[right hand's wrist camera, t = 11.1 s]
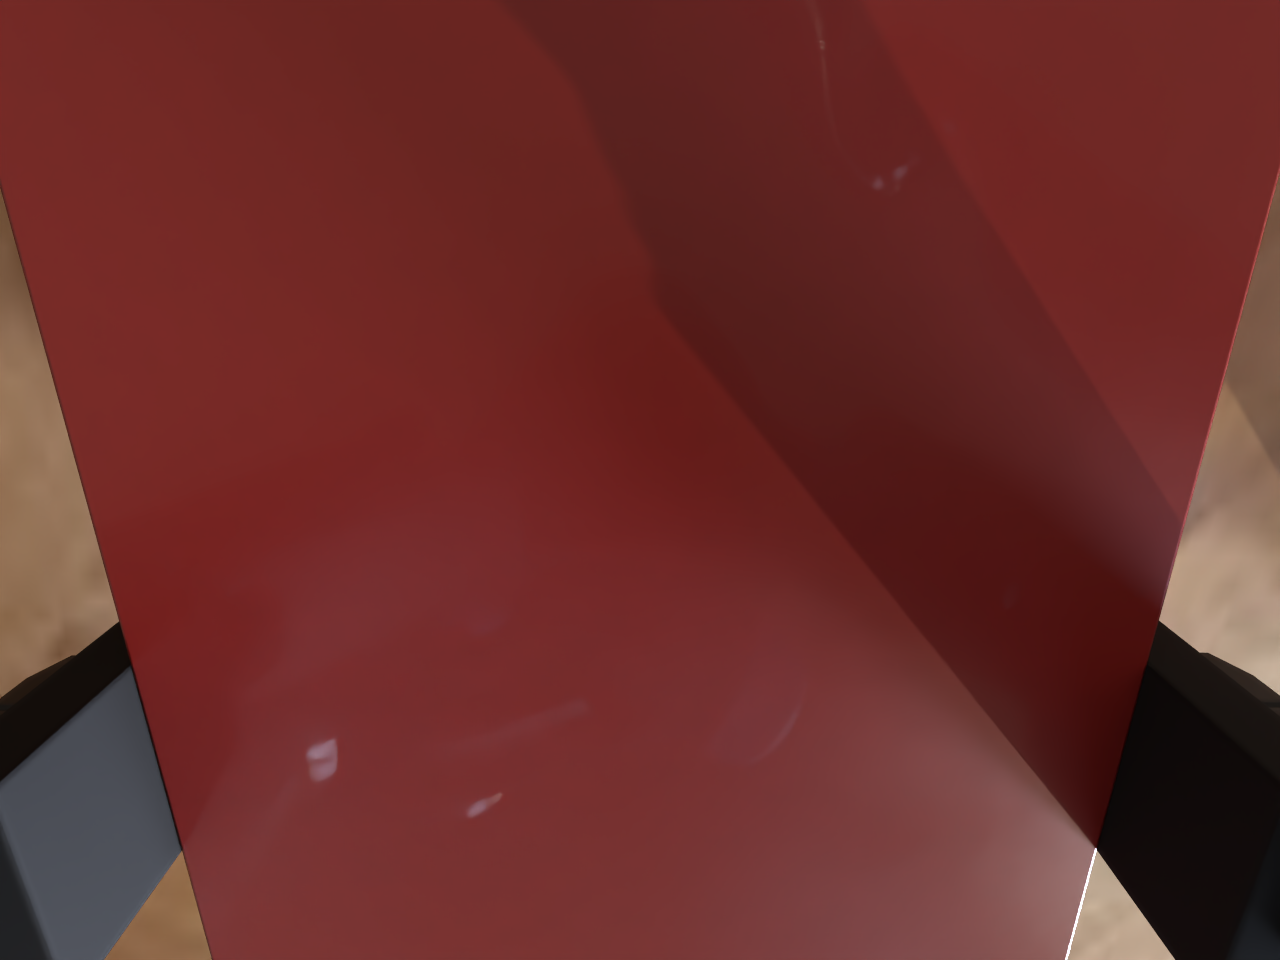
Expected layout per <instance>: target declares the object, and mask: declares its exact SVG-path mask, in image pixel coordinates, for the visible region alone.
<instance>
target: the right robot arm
mask: <svg viewBox="0 0 1280 960" xmlns="http://www.w3.org/2000/svg"><path fill="white" fill-rule="evenodd" d="M181 851H182V848H181V844H180V841H179V837H178V833H177V830H176V826H175V822H174V819H173V815H172V812H171V808H170V804H169V801H168V797H167V793H166V790H165V786H164V782H163V779H162V775H161V771H160V768H159V764H158V760H157V757H156V753H155V750H154V746H153V742H152V739H151V735H150V731H149V728H148V724H147V720H146V717H145V713H144V709H143V706H142V702H141V698H140V695H139V691H138V688H137V684H136V680H135V677H134V673H133V669H132V666H131V662H130V658H129V655H128V651H127V647H126V644H125V640H124V636H123V633H122V629H121V626H120V622H118V623H117V624H115V625H114V626H113V627H111V628H110V629H109V630H108V631H106V632H105V633H104V634H103V635H101V636H100V637H99V638H98V639H96V640H95V641H94V642H93V643H91V644H90V645H89V646H87V647H86V648H85V649H84V650H82V651H81V652H80V653H79V654H77V655H76V656H70V657H68V658H66V659H64V660H62V661H60V662H58V663H56V664H54V665H52V666H50V667H48V668H46V669H44V670H42V671H40V672H38V673H36V674H34V675H32V676H30V677H28V678H26V679H25V680H24V681H23V682H21V683H20V684H19V685H17V686H16V687H15V688H13V689H12V690H11V691H9V692H8V693H7V694H6V695H4V696H3V697H2V698H0V960H104V959H105V957H106V956H107V955H108V953H109V952H110V950H111V949H112V948H113V946H114V945H115V943H116V942H117V941H118V939H119V938H120V936H121V935H122V934H123V932H124V931H125V929H126V928H127V927H128V925H129V924H130V922H131V921H132V920H133V918H134V917H135V915H136V914H137V913H138V911H139V910H140V908H141V907H142V906H143V904H144V903H145V901H146V900H147V899H148V897H149V896H150V894H151V893H152V892H153V890H154V889H155V887H156V886H157V885H158V883H159V882H160V880H161V879H162V878H163V876H164V875H165V873H166V872H167V871H168V869H169V868H170V866H171V865H172V864H173V862H174V861H175V859H176V858H177V857H178V855H179V854H180V852H181ZM1097 851H1098V852H1099V854H1100V855H1101V856H1102V858H1103V859H1104V861H1105V862H1106V863H1107V865H1108V866H1109V868H1110V869H1111V870H1112V872H1113V873H1114V875H1115V876H1116V877H1117V879H1118V880H1119V882H1120V883H1121V884H1122V886H1123V887H1124V889H1125V890H1126V891H1127V893H1128V894H1129V896H1130V897H1131V898H1132V900H1133V901H1134V903H1135V904H1136V905H1137V907H1138V908H1139V910H1140V911H1141V912H1142V914H1143V915H1144V917H1145V918H1146V919H1147V921H1148V922H1149V924H1150V925H1151V926H1152V928H1153V929H1154V931H1155V932H1156V933H1157V935H1158V936H1159V938H1160V939H1161V940H1162V942H1163V943H1164V945H1165V946H1166V947H1167V949H1168V950H1169V952H1170V953H1171V954H1172V956H1173V957H1174V959H1175V960H1280V695H1278V694H1277V693H1276V692H1274V691H1273V690H1272V689H1270V688H1269V687H1268V686H1266V685H1265V684H1264V683H1262V682H1261V681H1260V680H1258V679H1257V678H1256V677H1255V676H1253V675H1251V674H1249V673H1247V672H1245V671H1243V670H1241V669H1239V668H1237V667H1235V666H1233V665H1231V664H1229V663H1227V662H1225V661H1223V660H1221V659H1219V658H1217V657H1215V656H1213V655H1211V654H1209V653H1199V652H1198V651H1197V650H1195V649H1194V648H1193V647H1192V646H1190V645H1189V644H1188V643H1187V642H1185V641H1184V640H1183V639H1181V638H1180V637H1179V636H1178V635H1176V634H1175V633H1174V632H1173V631H1171V630H1170V629H1169V628H1168V627H1166V626H1165V625H1164V624H1163V623H1161V622H1160V621H1158V625H1157V629H1156V632H1155V636H1154V640H1153V643H1152V647H1151V651H1150V654H1149V658H1148V662H1147V666H1146V669H1145V673H1144V677H1143V680H1142V684H1141V688H1140V691H1139V695H1138V699H1137V703H1136V706H1135V710H1134V714H1133V717H1132V721H1131V725H1130V728H1129V732H1128V736H1127V740H1126V743H1125V747H1124V751H1123V754H1122V758H1121V762H1120V765H1119V769H1118V773H1117V777H1116V780H1115V784H1114V788H1113V791H1112V795H1111V799H1110V802H1109V806H1108V810H1107V813H1106V817H1105V821H1104V824H1103V828H1102V832H1101V836H1100V839H1099V843H1098V847H1097Z"/></svg>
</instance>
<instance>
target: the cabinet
mask: <svg viewBox="0 0 1280 960" xmlns="http://www.w3.org/2000/svg"><path fill="white" fill-rule="evenodd" d="M1279 174H1280V0H0V188H1V192H2V195H3V199H4V203H5V206H6V210H7V213H8V217H9V221H10V224H11V228H12V232H13V235H14V239H15V243H16V246H17V250H18V254H19V257H20V261H21V265H22V268H23V272H24V275H25V279H26V283H27V286H28V290H29V294H30V297H31V301H32V305H33V308H34V312H35V316H36V319H37V323H38V327H39V330H40V334H41V337H42V341H43V345H44V348H45V352H46V356H47V359H48V363H49V367H50V370H51V374H52V378H53V381H54V385H55V389H56V392H57V396H58V399H59V403H60V407H61V410H62V414H63V418H64V421H65V425H66V429H67V432H68V436H69V440H70V443H71V447H72V450H73V454H74V458H75V461H76V465H77V469H78V472H79V476H80V480H81V483H82V487H83V491H84V494H85V498H86V502H87V505H88V509H89V512H90V516H91V520H92V523H93V527H94V531H95V534H96V538H97V542H98V545H99V549H100V553H101V556H102V560H103V564H104V567H105V571H106V574H107V578H108V582H109V585H110V589H111V593H112V596H113V600H114V604H115V607H116V611H117V615H118V618H119V622H120V626H121V629H122V633H123V636H124V640H125V644H126V647H127V651H128V655H129V658H130V662H131V666H132V669H133V673H134V677H135V680H136V684H137V688H138V691H139V695H140V698H141V702H142V706H143V709H144V713H145V717H146V720H147V724H148V728H149V731H150V735H151V739H152V742H153V746H154V750H155V753H156V757H157V760H158V764H159V768H160V771H161V775H162V779H163V782H164V786H165V790H166V793H167V797H168V801H169V804H170V808H171V812H172V815H173V819H174V822H175V826H176V830H177V833H178V837H179V841H180V844H181V848H182V852H183V855H184V859H185V863H186V866H187V870H188V874H189V877H190V881H191V884H192V888H193V892H194V895H195V899H196V903H197V906H198V910H199V914H200V917H201V921H202V925H203V928H204V932H205V936H206V939H207V943H208V946H209V950H210V954H211V957H212V960H1067V958H1068V954H1069V950H1070V947H1071V943H1072V939H1073V936H1074V932H1075V928H1076V925H1077V921H1078V917H1079V913H1080V910H1081V906H1082V902H1083V899H1084V895H1085V891H1086V888H1087V884H1088V880H1089V876H1090V873H1091V869H1092V865H1093V862H1094V858H1095V854H1096V851H1097V847H1098V843H1099V839H1100V836H1101V832H1102V828H1103V824H1104V821H1105V817H1106V813H1107V810H1108V806H1109V802H1110V799H1111V795H1112V791H1113V788H1114V784H1115V780H1116V777H1117V773H1118V769H1119V765H1120V762H1121V758H1122V754H1123V751H1124V747H1125V743H1126V740H1127V736H1128V732H1129V728H1130V725H1131V721H1132V717H1133V714H1134V710H1135V706H1136V703H1137V699H1138V695H1139V691H1140V688H1141V684H1142V680H1143V677H1144V673H1145V669H1146V666H1147V662H1148V658H1149V654H1150V651H1151V647H1152V643H1153V640H1154V636H1155V632H1156V629H1157V625H1158V621H1159V617H1160V614H1161V610H1162V606H1163V603H1164V599H1165V595H1166V592H1167V588H1168V584H1169V580H1170V577H1171V573H1172V569H1173V566H1174V562H1175V558H1176V555H1177V551H1178V547H1179V543H1180V540H1181V536H1182V532H1183V529H1184V525H1185V521H1186V518H1187V514H1188V510H1189V506H1190V503H1191V499H1192V495H1193V492H1194V488H1195V484H1196V481H1197V477H1198V473H1199V469H1200V466H1201V462H1202V458H1203V455H1204V451H1205V447H1206V444H1207V440H1208V436H1209V432H1210V429H1211V425H1212V421H1213V418H1214V414H1215V410H1216V407H1217V403H1218V399H1219V395H1220V392H1221V388H1222V384H1223V381H1224V377H1225V373H1226V370H1227V366H1228V362H1229V358H1230V355H1231V351H1232V347H1233V344H1234V340H1235V336H1236V333H1237V329H1238V325H1239V322H1240V318H1241V314H1242V310H1243V307H1244V303H1245V299H1246V296H1247V292H1248V288H1249V285H1250V281H1251V277H1252V273H1253V270H1254V266H1255V262H1256V259H1257V255H1258V251H1259V248H1260V244H1261V240H1262V236H1263V233H1264V229H1265V225H1266V222H1267V218H1268V214H1269V211H1270V207H1271V203H1272V199H1273V196H1274V192H1275V188H1276V185H1277V181H1278V177H1279Z"/></svg>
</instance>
